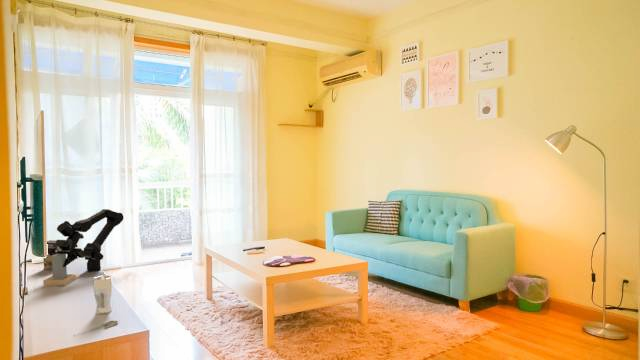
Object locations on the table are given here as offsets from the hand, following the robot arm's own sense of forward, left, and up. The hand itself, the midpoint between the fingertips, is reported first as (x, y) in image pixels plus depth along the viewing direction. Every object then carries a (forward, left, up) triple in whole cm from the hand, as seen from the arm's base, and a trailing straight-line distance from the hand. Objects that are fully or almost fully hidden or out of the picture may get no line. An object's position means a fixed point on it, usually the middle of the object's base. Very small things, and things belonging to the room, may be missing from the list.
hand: (58, 266), depth 227 cm
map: (-20, +76, -9) cm, 79 cm away
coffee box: (+7, -34, -9) cm, 36 cm away
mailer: (-1, -3, -9) cm, 9 cm away
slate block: (0, 0, -7) cm, 7 cm away
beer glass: (-23, +55, -9) cm, 60 cm away
